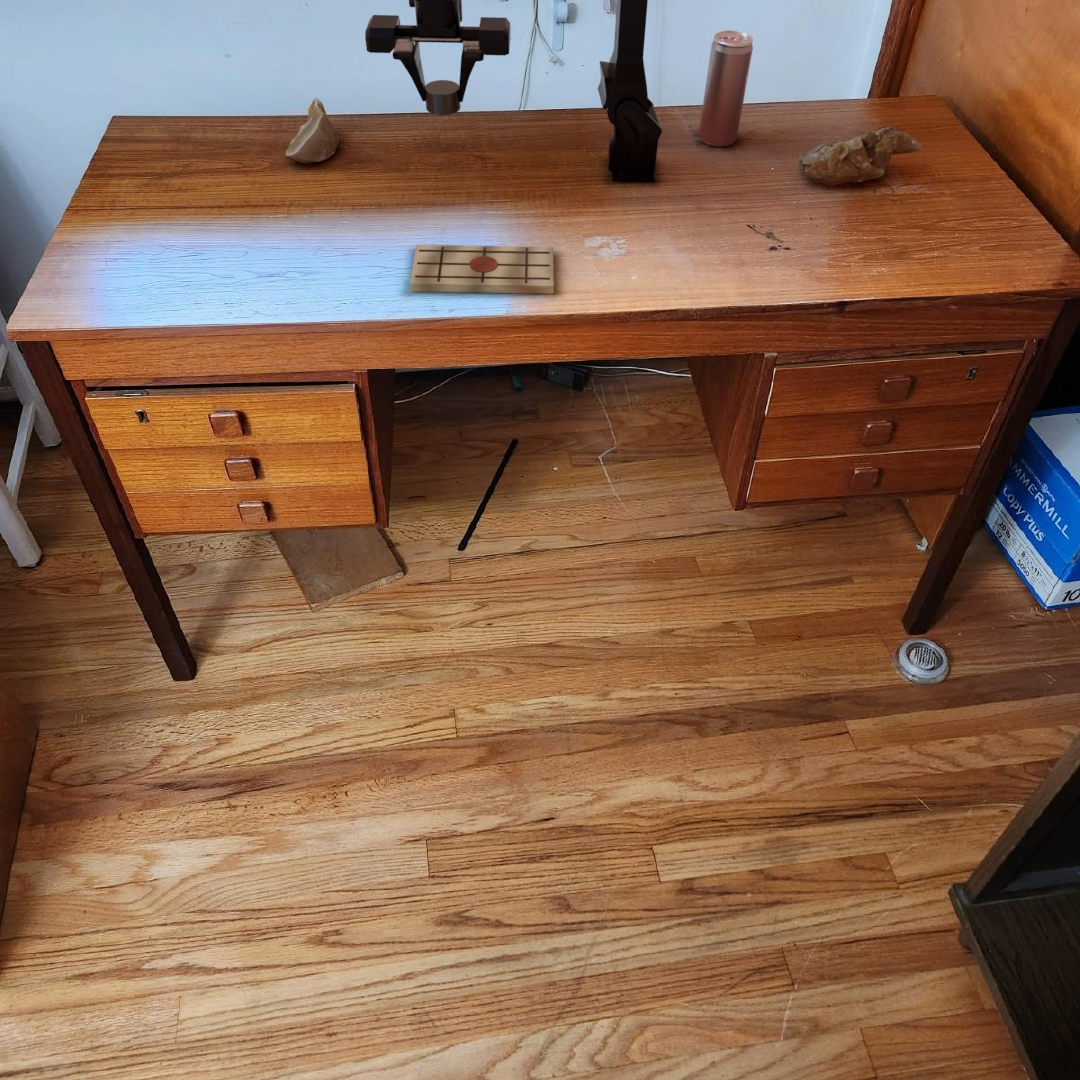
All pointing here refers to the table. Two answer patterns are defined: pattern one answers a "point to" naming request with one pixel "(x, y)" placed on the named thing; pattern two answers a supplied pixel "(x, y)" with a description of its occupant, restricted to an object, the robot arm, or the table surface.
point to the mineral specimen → (856, 156)
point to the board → (483, 269)
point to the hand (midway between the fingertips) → (443, 100)
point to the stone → (314, 137)
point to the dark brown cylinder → (442, 97)
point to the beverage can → (725, 87)
